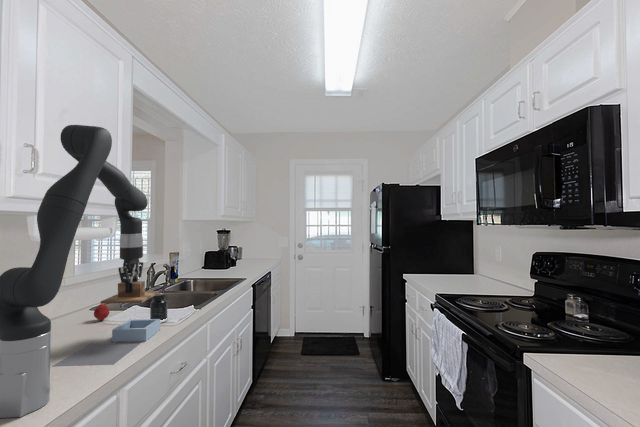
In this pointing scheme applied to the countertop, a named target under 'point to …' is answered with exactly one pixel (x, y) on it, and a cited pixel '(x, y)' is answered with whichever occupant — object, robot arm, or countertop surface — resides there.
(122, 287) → the lid
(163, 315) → the supplement bottle
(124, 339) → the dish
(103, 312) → the red bumpy ovoid
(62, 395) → the countertop surface
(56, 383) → the countertop surface
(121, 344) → the mat
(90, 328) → the countertop surface
